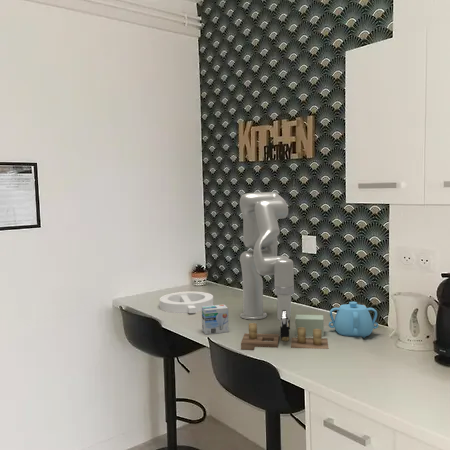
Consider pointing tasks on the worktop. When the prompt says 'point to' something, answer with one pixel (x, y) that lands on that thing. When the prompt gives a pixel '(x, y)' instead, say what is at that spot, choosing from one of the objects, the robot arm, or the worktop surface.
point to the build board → (258, 339)
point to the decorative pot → (353, 320)
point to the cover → (309, 323)
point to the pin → (285, 337)
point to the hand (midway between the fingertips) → (285, 333)
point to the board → (309, 340)
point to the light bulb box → (215, 319)
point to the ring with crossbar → (185, 302)
